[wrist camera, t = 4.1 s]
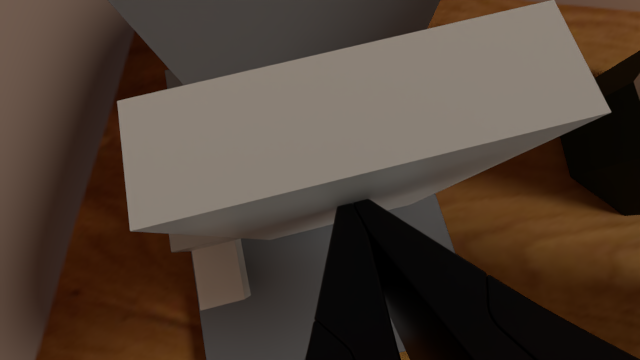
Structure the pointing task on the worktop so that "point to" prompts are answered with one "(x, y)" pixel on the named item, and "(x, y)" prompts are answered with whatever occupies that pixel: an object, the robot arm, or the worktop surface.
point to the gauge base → (293, 250)
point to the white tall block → (350, 127)
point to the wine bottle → (611, 141)
